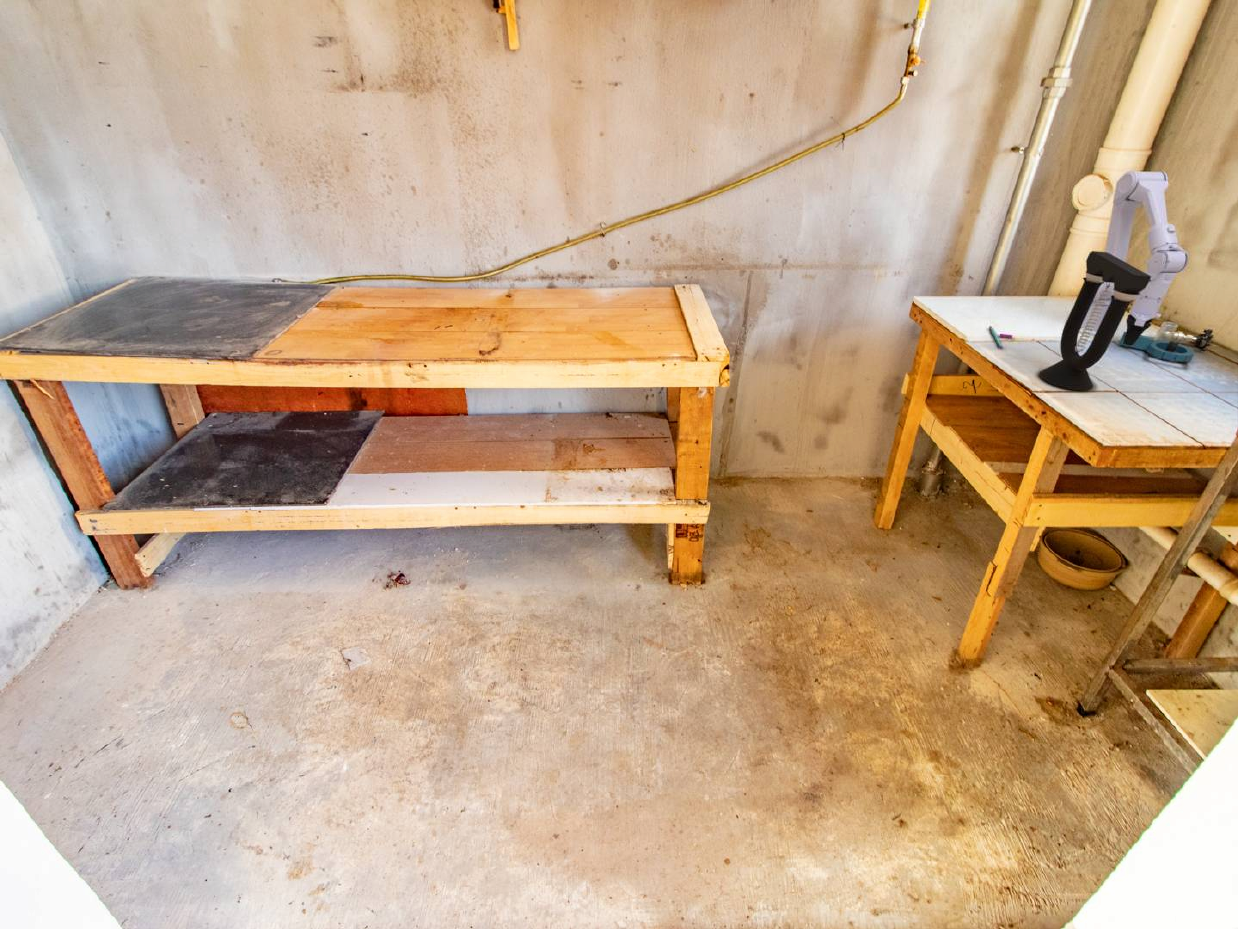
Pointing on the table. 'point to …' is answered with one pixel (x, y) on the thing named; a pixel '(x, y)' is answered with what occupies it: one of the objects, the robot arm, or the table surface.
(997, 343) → the squeegee
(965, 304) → the table surface
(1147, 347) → the ring
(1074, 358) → the spring support
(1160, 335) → the valve
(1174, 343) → the ring stand
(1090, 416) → the table surface
